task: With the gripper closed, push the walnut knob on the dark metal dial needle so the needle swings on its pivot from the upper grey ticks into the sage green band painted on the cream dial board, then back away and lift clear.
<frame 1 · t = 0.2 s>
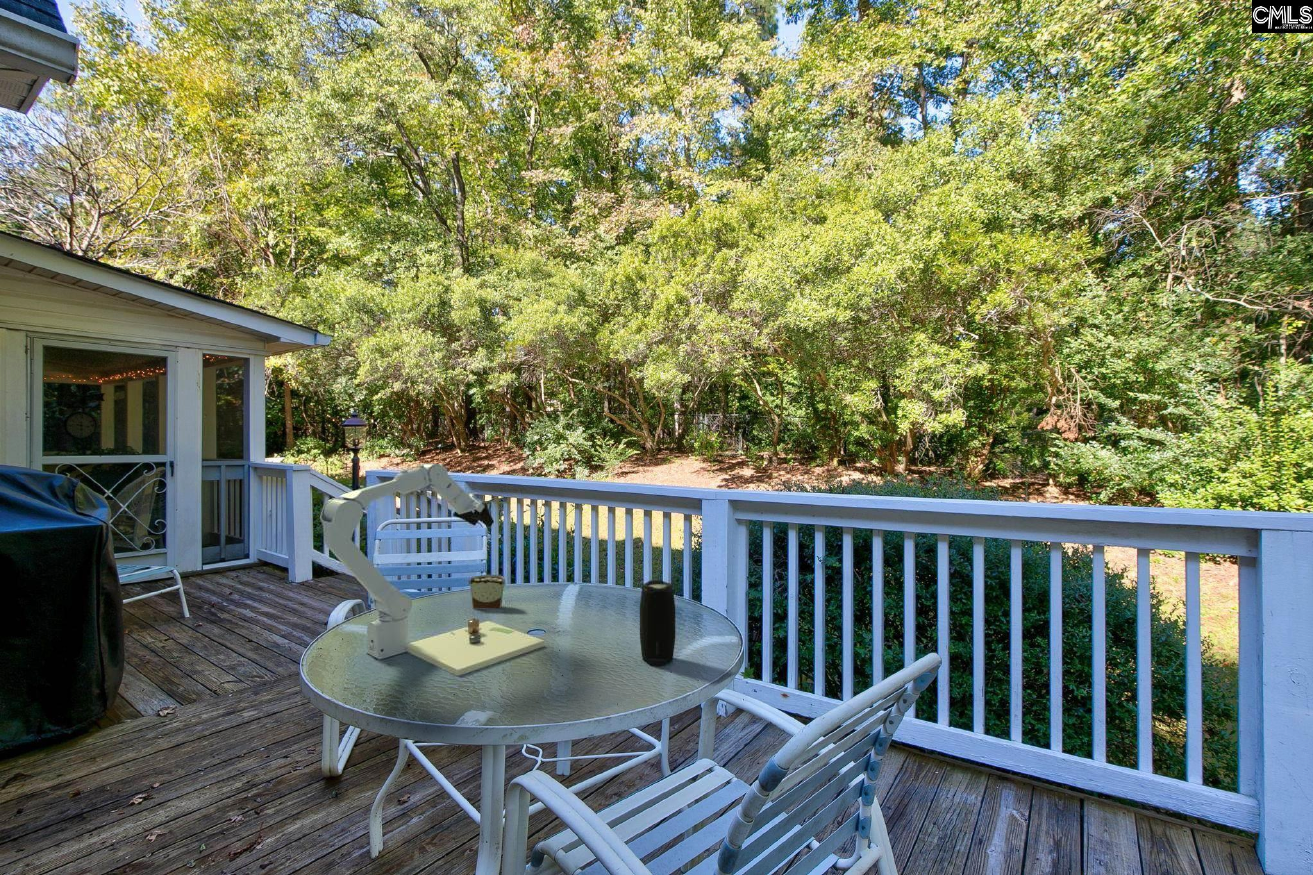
hand: (483, 523, 178), 31 cm above the table, tool tilted 45°, fingers open, 7 cm apart
dial needle: (474, 629, 163), point 3 cm above the table, hinge at 60.0°
food container: (490, 607, 197), on the table
portable speaker: (657, 661, 150), on the table
dial board: (474, 648, 159), on the table
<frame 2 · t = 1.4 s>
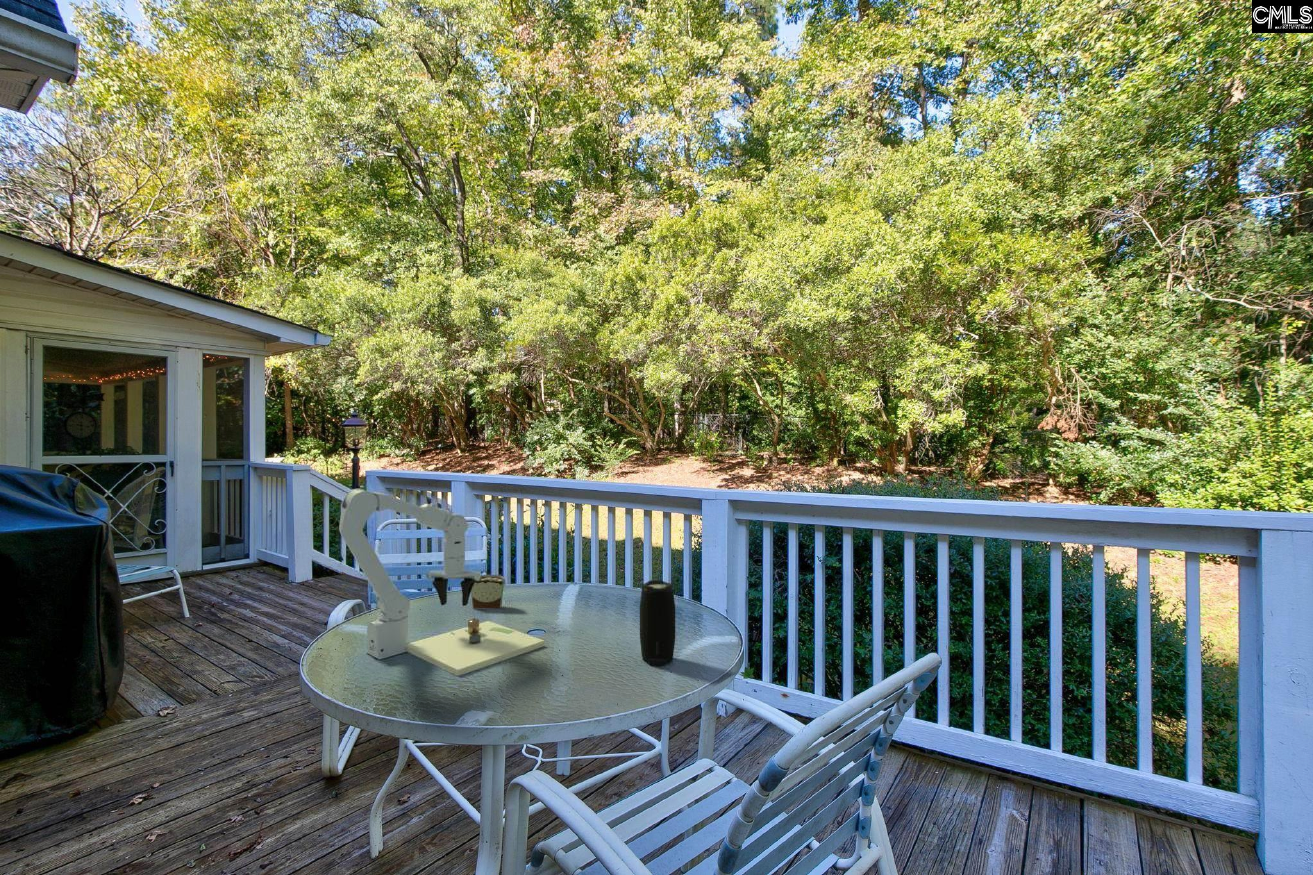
hand: (454, 604, 167), 9 cm above the table, tool pointing down, fingers open, 6 cm apart
nothing on the table moved.
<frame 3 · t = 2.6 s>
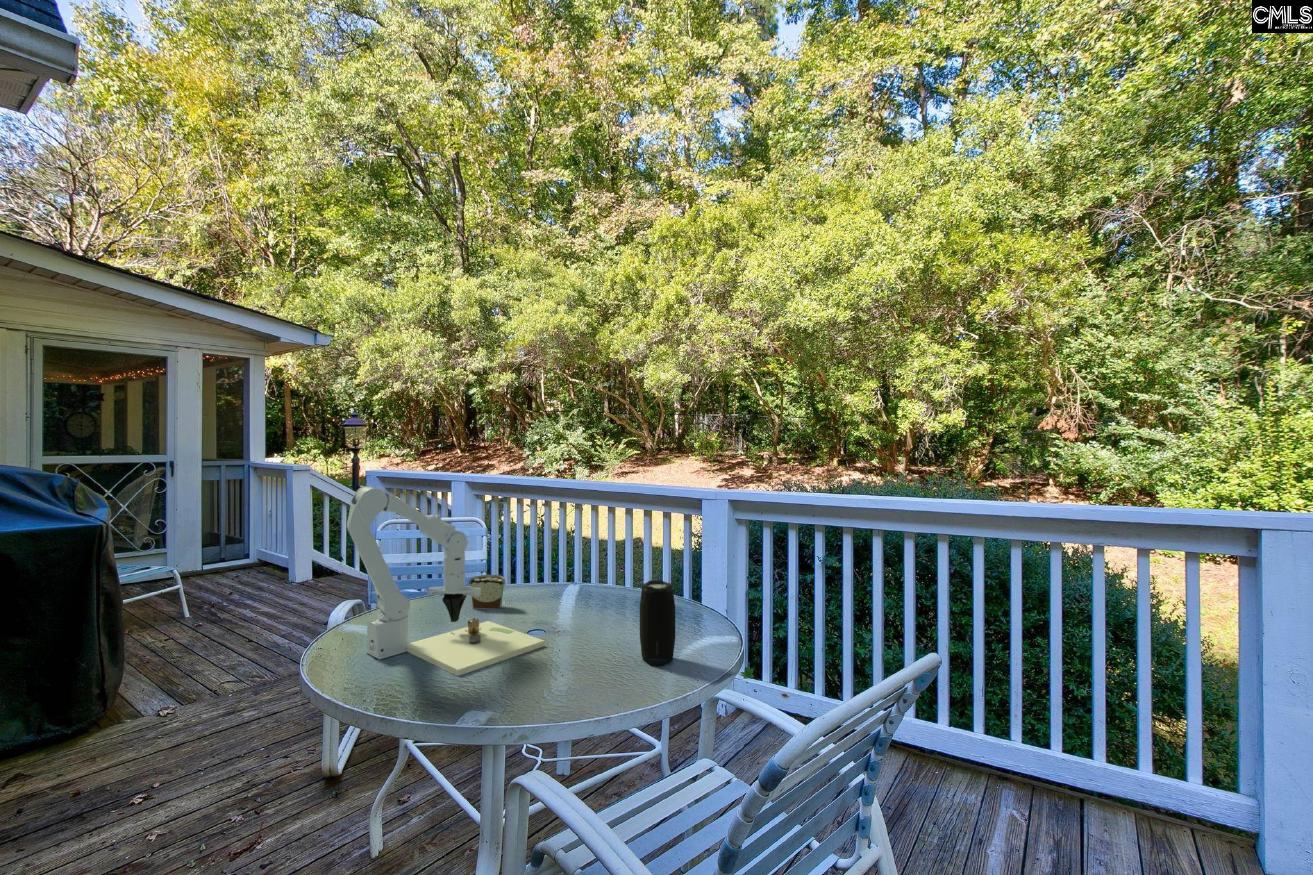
hand: (454, 620, 167), 5 cm above the table, tool pointing down, fingers closed
nothing on the table moved.
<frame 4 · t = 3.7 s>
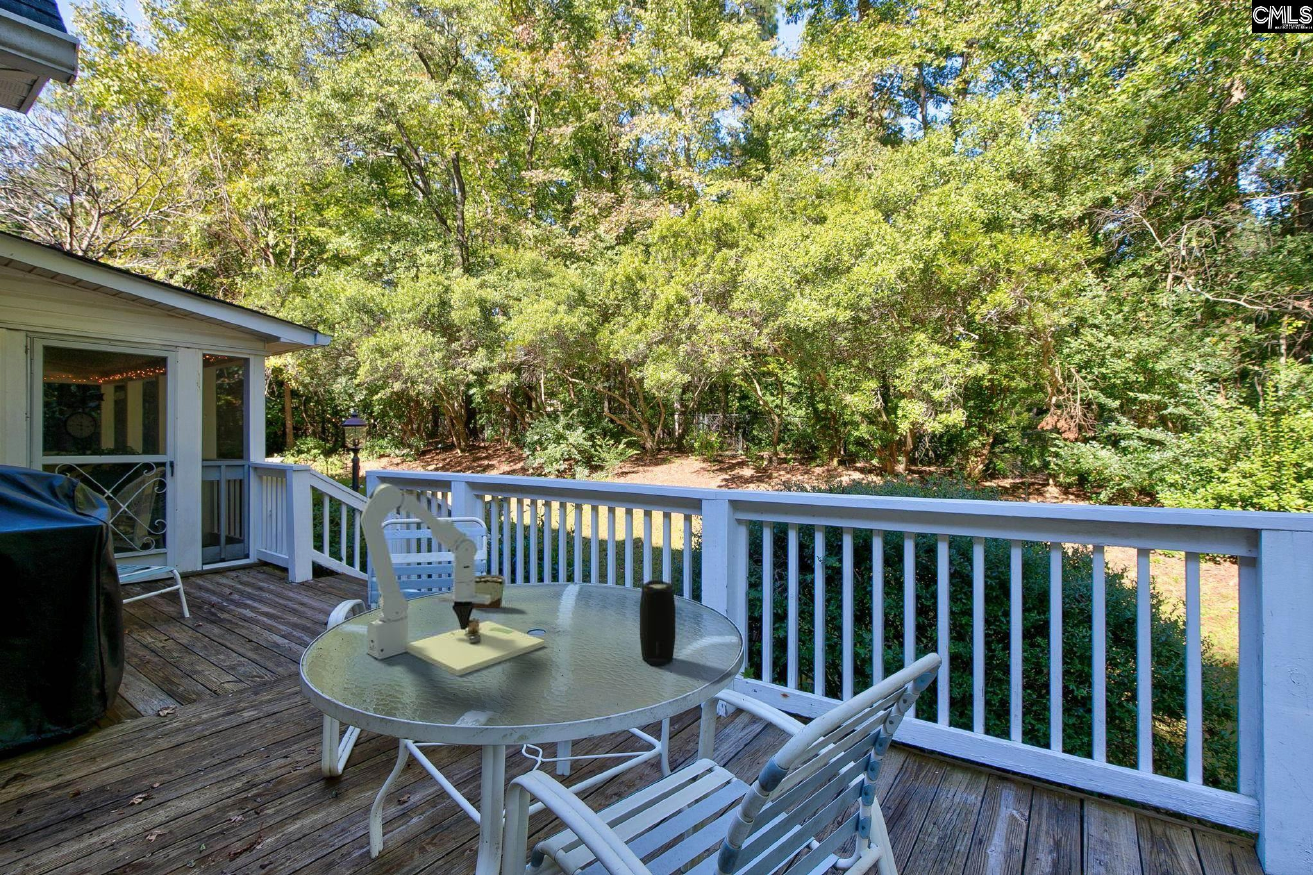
hand: (464, 628, 167), 3 cm above the table, tool pointing down, fingers closed, pressing on dial needle
dial needle: (474, 629, 163), point 3 cm above the table, hinge at 60.0°, touching gripper
everything else where it was.
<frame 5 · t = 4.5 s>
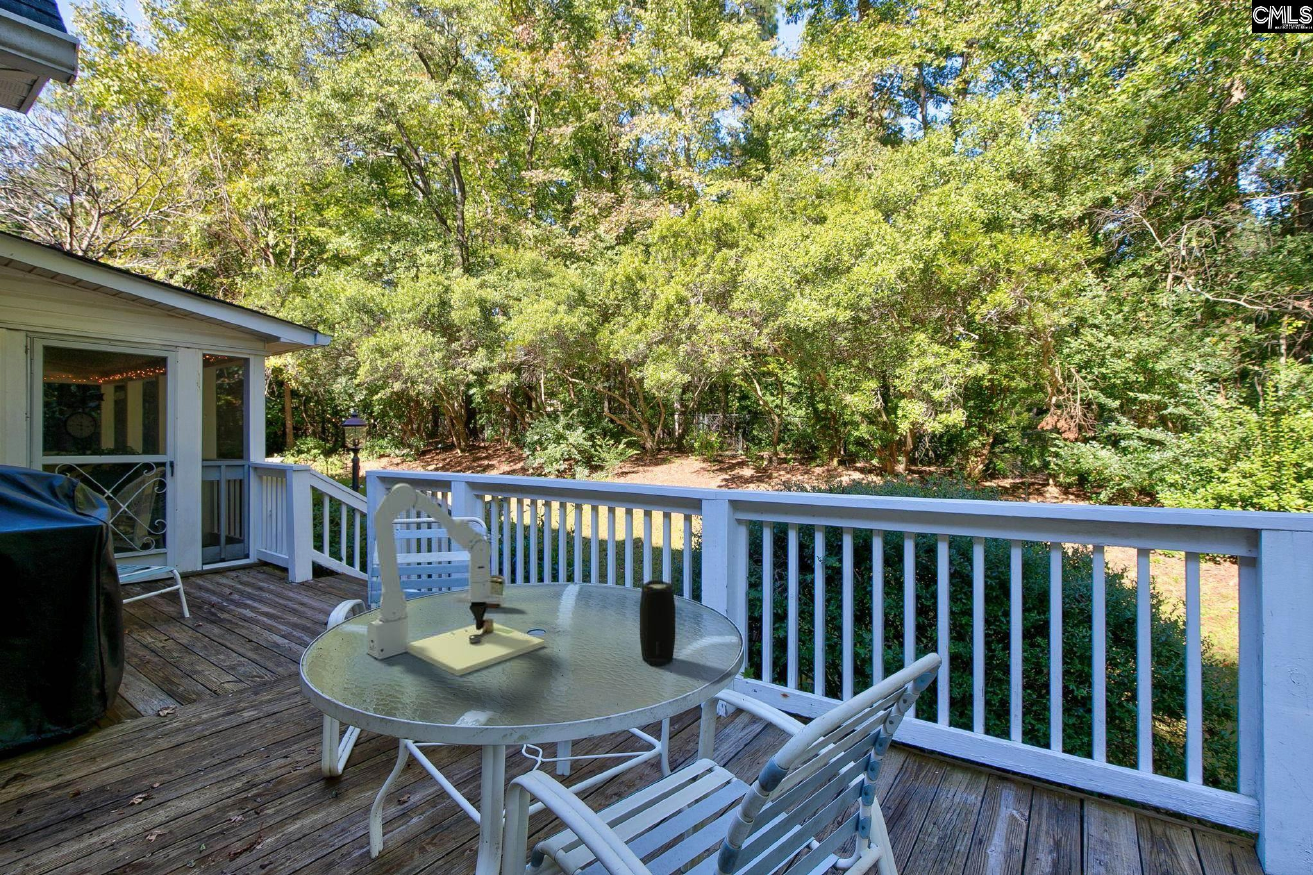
hand: (479, 628, 166), 3 cm above the table, tool pointing down, fingers closed, pressing on dial needle
dial needle: (482, 629, 163), point 3 cm above the table, hinge at 31.6°, touching gripper
everything else where it was.
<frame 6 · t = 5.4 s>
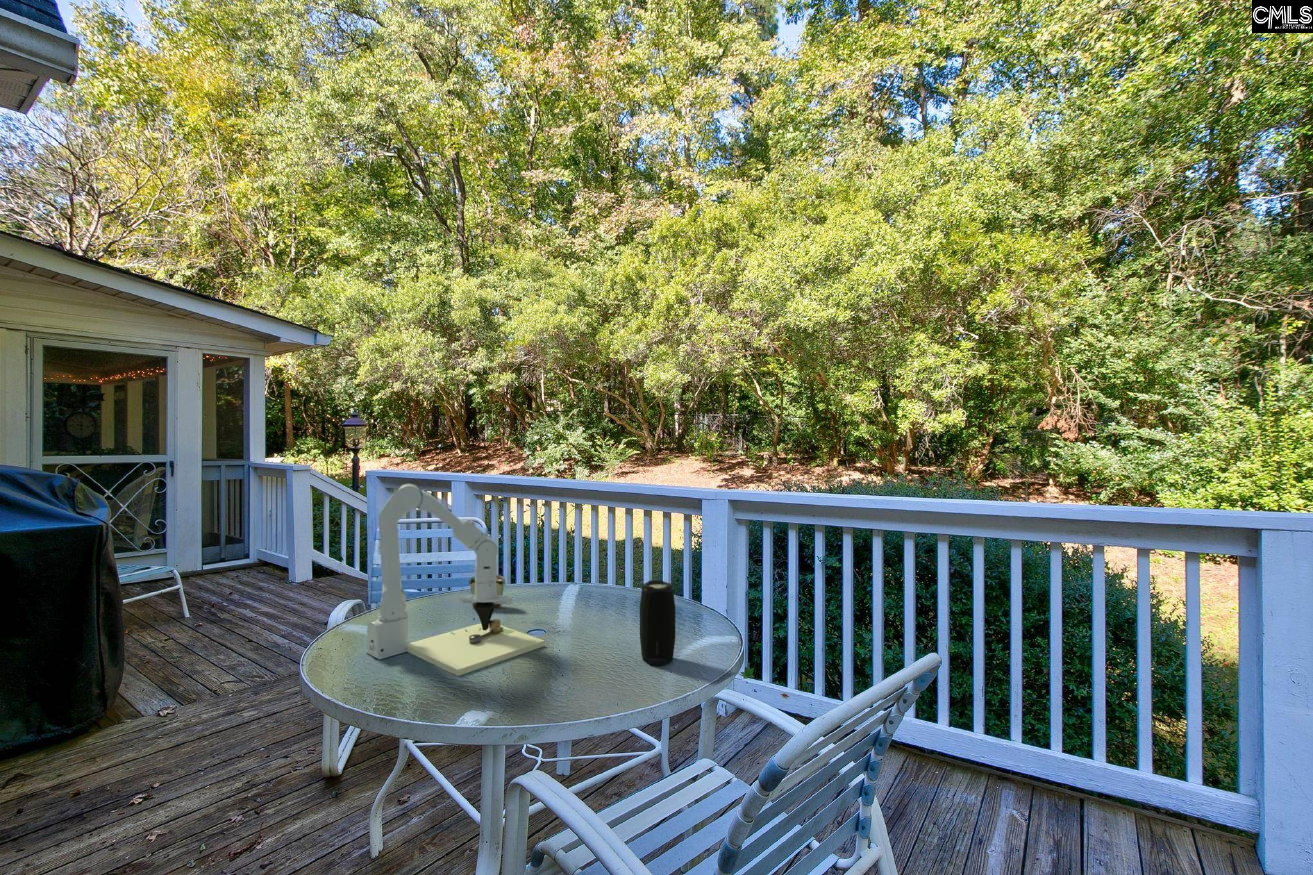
hand: (485, 629, 166), 3 cm above the table, tool pointing down, fingers closed
dial needle: (487, 630, 163), point 3 cm above the table, hinge at 15.1°, touching gripper
everything else where it was.
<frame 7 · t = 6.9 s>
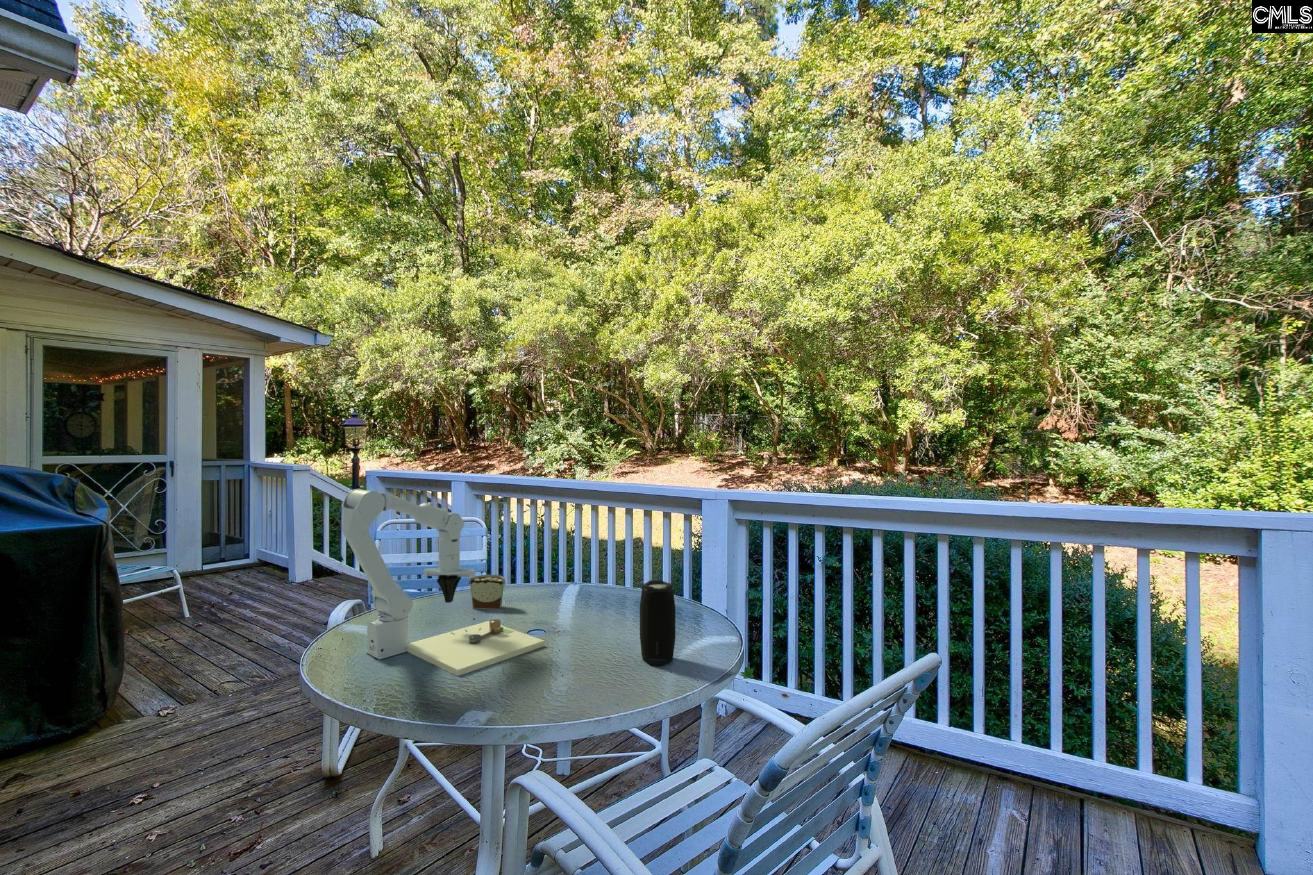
hand: (449, 601, 170), 9 cm above the table, tool pointing down, fingers closed
dial needle: (487, 630, 163), point 3 cm above the table, hinge at 15.0°
everything else where it was.
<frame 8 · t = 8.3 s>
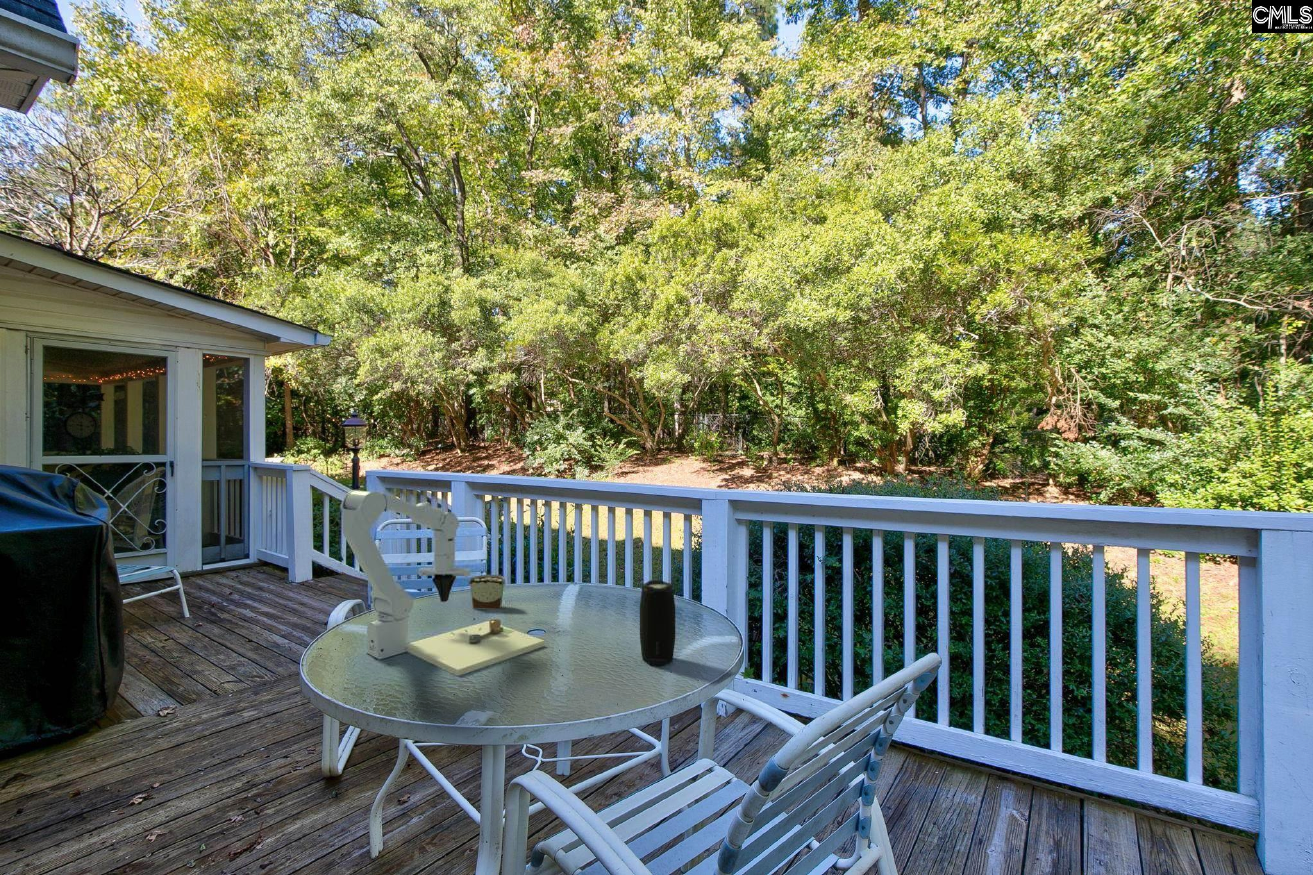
hand: (444, 600, 170), 9 cm above the table, tool pointing down, fingers closed
nothing on the table moved.
at the end: dial needle at +15° (first picture: +60°) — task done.
